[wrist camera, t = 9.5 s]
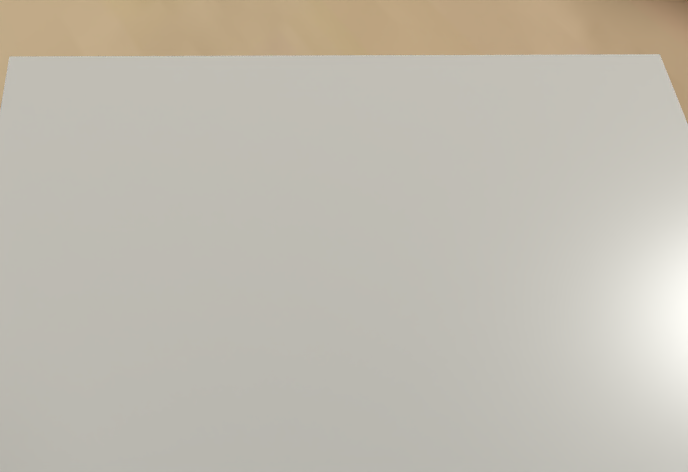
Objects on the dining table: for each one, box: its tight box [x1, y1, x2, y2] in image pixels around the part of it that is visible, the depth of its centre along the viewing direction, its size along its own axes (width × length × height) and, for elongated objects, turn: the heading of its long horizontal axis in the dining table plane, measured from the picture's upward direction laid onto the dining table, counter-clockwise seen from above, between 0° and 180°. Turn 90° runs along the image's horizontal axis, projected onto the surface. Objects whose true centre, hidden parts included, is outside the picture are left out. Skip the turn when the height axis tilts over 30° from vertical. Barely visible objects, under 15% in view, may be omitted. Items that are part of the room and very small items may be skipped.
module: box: [0, 54, 688, 472], centre depth 9 cm, size 5×4×13 cm
